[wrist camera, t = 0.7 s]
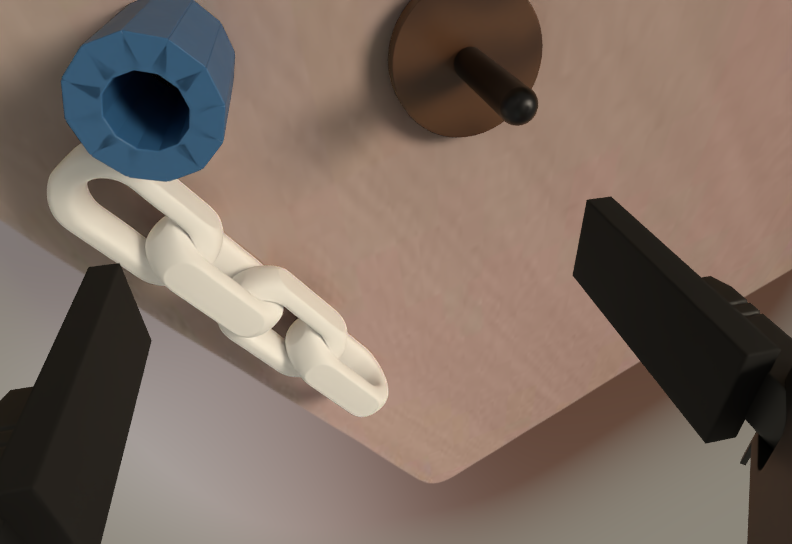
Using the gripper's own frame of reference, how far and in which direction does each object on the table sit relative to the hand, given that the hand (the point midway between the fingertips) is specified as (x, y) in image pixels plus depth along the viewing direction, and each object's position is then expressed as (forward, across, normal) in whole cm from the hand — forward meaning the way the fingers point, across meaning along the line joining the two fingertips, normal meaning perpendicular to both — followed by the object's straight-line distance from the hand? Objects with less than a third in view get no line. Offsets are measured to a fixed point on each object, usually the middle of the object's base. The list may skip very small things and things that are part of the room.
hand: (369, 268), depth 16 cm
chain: (+24, -7, -16) cm, 29 cm away
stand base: (+23, +10, -1) cm, 25 cm away
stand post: (+22, +10, -1) cm, 24 cm away
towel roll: (+23, -8, +1) cm, 25 cm away
